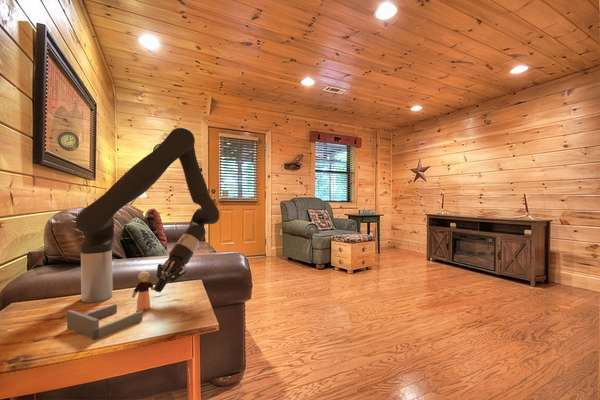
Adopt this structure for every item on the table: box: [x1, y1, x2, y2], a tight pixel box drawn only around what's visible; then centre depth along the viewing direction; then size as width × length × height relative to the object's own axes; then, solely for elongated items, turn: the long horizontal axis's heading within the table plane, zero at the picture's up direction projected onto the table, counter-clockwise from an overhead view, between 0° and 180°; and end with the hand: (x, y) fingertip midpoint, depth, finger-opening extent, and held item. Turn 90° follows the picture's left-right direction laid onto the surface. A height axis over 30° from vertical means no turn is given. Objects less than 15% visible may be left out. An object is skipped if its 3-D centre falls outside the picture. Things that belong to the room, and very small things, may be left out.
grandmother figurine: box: [131, 270, 155, 313], centre depth 93 cm, size 8×4×13 cm, turn 166°
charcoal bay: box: [66, 303, 143, 341], centre depth 83 cm, size 14×13×5 cm
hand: (156, 291), depth 97 cm, fingers closed
